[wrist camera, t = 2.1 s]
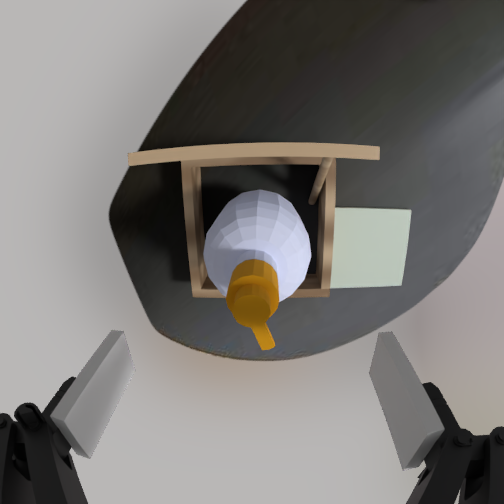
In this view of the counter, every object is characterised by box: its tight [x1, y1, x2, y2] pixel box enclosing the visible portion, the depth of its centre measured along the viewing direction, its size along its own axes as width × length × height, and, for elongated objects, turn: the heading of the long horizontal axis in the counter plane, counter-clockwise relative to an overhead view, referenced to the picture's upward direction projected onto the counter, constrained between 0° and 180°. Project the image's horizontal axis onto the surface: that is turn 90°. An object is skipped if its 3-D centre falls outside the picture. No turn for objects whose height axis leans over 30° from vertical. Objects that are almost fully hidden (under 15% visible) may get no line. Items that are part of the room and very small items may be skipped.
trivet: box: [330, 207, 411, 288], centre depth 41 cm, size 12×12×1 cm
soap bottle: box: [203, 190, 311, 350], centre depth 30 cm, size 10×10×24 cm
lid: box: [128, 143, 380, 166], centre depth 29 cm, size 1×19×19 cm, turn 92°
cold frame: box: [181, 156, 336, 298], centre depth 36 cm, size 19×18×12 cm
